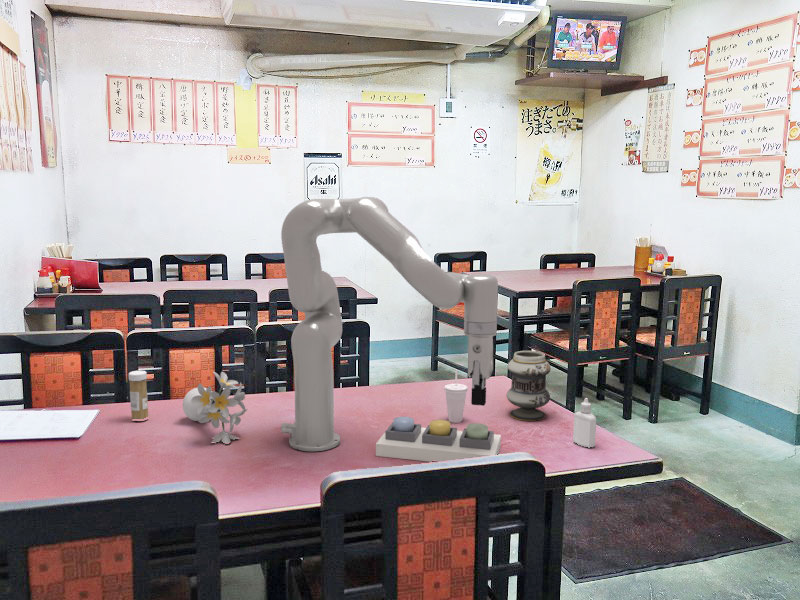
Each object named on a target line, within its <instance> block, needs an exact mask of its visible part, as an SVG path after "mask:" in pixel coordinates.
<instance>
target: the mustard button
mask: <svg viewBox="0 0 800 600" xmlns="http://www.w3.org/2000/svg"><path fill="white" fill-rule="evenodd" d="M429 425H430V430H429V433H430V434H431V435H440V436H448V435H450V427H451V422H449V420H444V419H435V420H431V421H430V422H429Z"/></svg>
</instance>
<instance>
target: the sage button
mask: <svg viewBox="0 0 800 600" xmlns="http://www.w3.org/2000/svg"><path fill="white" fill-rule="evenodd" d="M466 429H467V435H466V436H467V438H470V439H480V440H485V439H487V438H488V431H489V430H488V429H489V427H488V426H487V424H483V423H479V422H478V423H476V422H474V423H469V424H467V425H466Z"/></svg>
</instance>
